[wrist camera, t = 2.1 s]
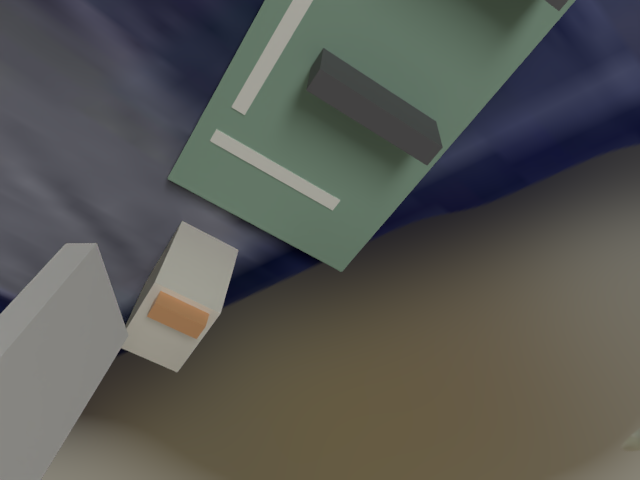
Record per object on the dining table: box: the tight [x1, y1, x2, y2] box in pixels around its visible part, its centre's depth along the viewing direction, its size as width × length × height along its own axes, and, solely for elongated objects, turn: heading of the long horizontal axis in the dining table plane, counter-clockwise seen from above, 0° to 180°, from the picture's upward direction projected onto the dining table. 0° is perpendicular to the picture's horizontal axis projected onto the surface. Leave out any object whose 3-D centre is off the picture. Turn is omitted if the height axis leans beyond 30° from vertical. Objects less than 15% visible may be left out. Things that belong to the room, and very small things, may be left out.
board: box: [167, 0, 575, 272], centre depth 29 cm, size 12×20×4 cm, turn 148°
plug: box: [121, 221, 238, 372], centre depth 36 cm, size 4×6×7 cm, turn 148°
